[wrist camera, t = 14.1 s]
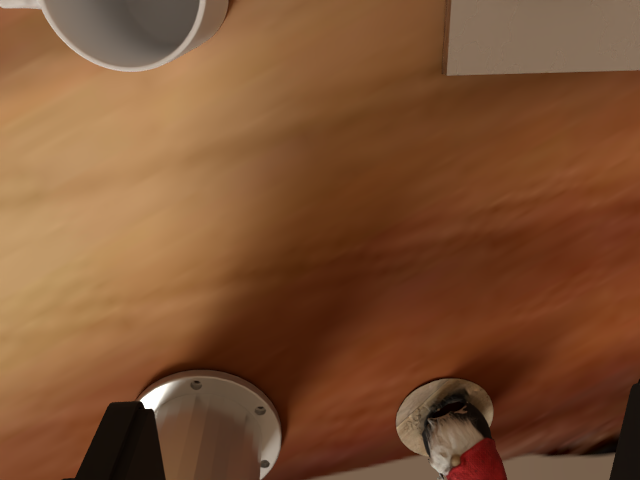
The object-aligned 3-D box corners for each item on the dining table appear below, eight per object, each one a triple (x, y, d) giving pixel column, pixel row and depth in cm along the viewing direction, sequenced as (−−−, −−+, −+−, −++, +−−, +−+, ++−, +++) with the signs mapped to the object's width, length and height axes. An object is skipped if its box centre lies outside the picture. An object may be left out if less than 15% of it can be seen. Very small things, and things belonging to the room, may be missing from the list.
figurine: (368, 412, 41) (532, 487, 35) (426, 349, 49) (571, 402, 42) (365, 493, 44) (514, 576, 38) (420, 423, 52) (553, 482, 45)
